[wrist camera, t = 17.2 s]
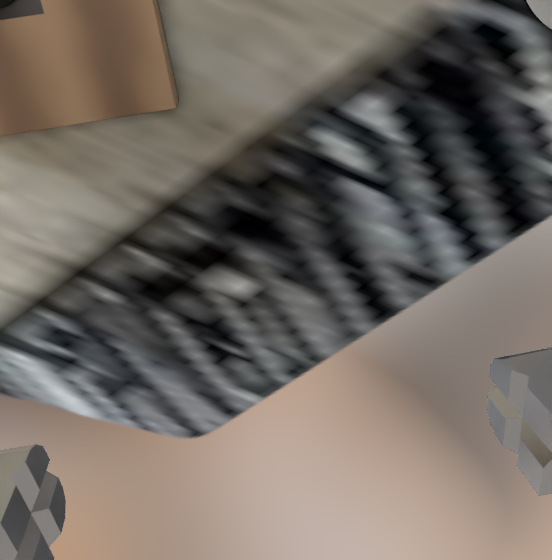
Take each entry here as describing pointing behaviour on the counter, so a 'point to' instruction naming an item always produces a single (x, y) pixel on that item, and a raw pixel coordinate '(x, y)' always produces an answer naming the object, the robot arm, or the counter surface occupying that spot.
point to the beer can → (4, 2)
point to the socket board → (81, 62)
